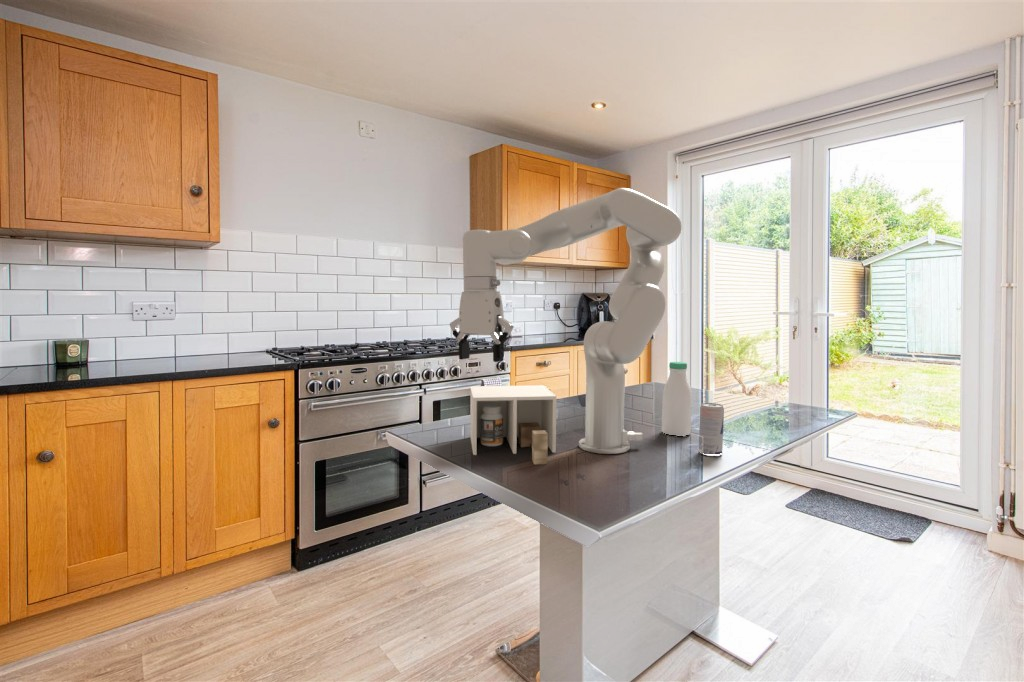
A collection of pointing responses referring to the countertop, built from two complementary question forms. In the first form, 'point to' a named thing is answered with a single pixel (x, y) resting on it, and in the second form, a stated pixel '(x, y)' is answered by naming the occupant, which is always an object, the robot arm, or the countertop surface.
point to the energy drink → (711, 428)
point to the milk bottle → (677, 401)
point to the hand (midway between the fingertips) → (481, 359)
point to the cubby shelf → (514, 410)
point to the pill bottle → (491, 425)
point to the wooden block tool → (534, 441)
